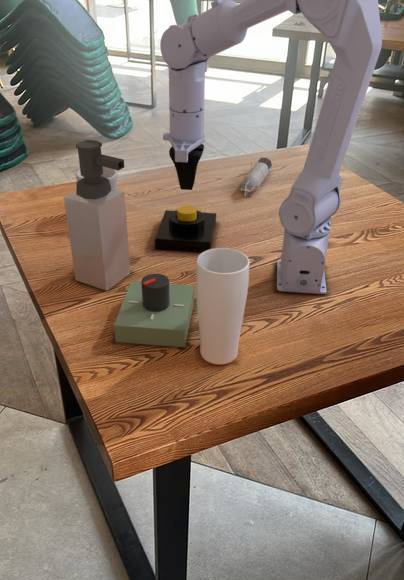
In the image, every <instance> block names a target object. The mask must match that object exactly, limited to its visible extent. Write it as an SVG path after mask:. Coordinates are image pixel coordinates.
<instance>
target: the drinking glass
mask: <svg viewBox="0 0 404 580" xmlns="http://www.w3.org/2000/svg"><path fill="white" fill-rule="evenodd" d="M195 262H196V263H195V299H196V307H197V309H196V310H197V321H198V333H199V354H200V355H201V357H202V359H203V360H204V361H206V362H207V363H209V364H213V365H218V366H219V365H220V366H221V365H223V366H224V365H226V364H227V365H228V364H231V363H232V362H234V361H235V360H236V358H237V357H238V355H239V348H240V347H239V346H240V338H241V333H242V327H243V322H244V316H245V312H246V311H245V310H246V305H247V299H248V294H249V293H248V292H249V283H250V266H251V265H250V258H249V257H248V256H247V255H246V254H245V252H244V253H243V252H242V251H239V250H237V249H234V248H229V247H215V248H211V249H209V250H206V251H204V252H200V254H199V255H198V256H197V257H196V261H195Z"/></svg>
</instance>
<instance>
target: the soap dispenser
mask: <svg viewBox="0 0 404 580" xmlns="http://www.w3.org/2000/svg"><path fill="white" fill-rule="evenodd" d="M102 147H103V142H101V141H99V140H96V139H95V140H94V139H85V140H82V141H79V142H77V143H76V144H75V148H76V149H77V153H78V162H79V170H80V172H81V176H83V177H84V178H82V179H81V180H79V181H78V182H77V181H76V186H75V188H76V189H75V190H74V191H72V192H70V193H68V194H66V195H64V196H63V201H64V209H65V216H66V224H67V229H68V236H69V244H70V250H71V257H72V264H73V271H74V278H75V279H74V280H75V281H78V282H81V283H83V284H86V285H89V286H93V287H95V288H98V289H100V290H103V291H109V290H110V289H111V288H113V287H114V286H116V285H117V284H118V283H119V282H121V281H122V280H124V279H125V278H126V277H128V276H129V275H131V262H130V251H129V249H130V248H129V237H128V235H129V234H128V224H127V210H126V209H127V208H126V196H125V195H126V194H125V190H121V189H118V188H117V189H113V188H111V186H110V182H109V179H107V178H105V177H103V176H101V175H102V174H103V167H107V168H110V169H114V170H116V171H120V170H122V169H125V159H124V158H121V157H120V158H119V157H115V156H110V155H106V154H102Z"/></svg>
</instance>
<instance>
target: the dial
mask: <svg viewBox="0 0 404 580" xmlns="http://www.w3.org/2000/svg"><path fill="white" fill-rule="evenodd" d="M140 282H141V285H142V302H143V307H144V308H145V309H147V310H149V311H162V310H165V309H166V308H168V307H169V305H170V293H169V284H170V278H169V277H168V276H167V275H165V274H163V273H149V274H147V275H145V276H143V277H142V278H141V281H140Z"/></svg>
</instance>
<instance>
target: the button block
mask: <svg viewBox="0 0 404 580" xmlns="http://www.w3.org/2000/svg"><path fill="white" fill-rule="evenodd" d="M216 226H217V213H216V212H202V211H201V210H197V219H196V220H194V221H189V222H188V221H180V220H178V219H177V209H176V210H169V209H168V210H167V209H166V210H165V211H164V213H163V215H162V218H161V222H160V224H159V227H158V230H157V232H156V234H155V238H154V246H155V249H154V250H159V251H171V252H172V251H175V252H191V253H202V252H204V251H206V250H209V249H212V246H213V242H214V241H213V240H214V236H215V231H216Z"/></svg>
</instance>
